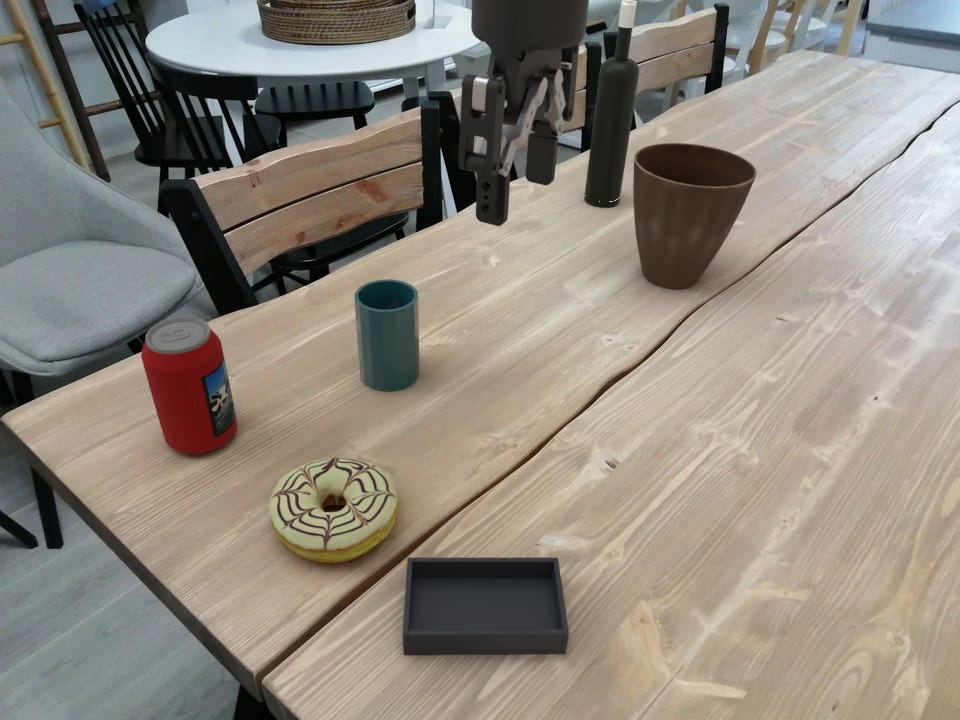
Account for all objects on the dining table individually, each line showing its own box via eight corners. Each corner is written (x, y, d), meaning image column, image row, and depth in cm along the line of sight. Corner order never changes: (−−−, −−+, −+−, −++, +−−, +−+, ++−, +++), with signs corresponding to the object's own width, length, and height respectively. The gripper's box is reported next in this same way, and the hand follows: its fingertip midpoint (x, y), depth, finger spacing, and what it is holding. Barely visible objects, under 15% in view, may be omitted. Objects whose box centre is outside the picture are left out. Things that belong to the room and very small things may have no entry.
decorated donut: (345, 461, 70) (342, 430, 67) (423, 522, 64) (423, 491, 62) (248, 520, 63) (242, 489, 61) (326, 594, 57) (322, 562, 55)
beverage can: (247, 445, 71) (226, 342, 64) (174, 469, 68) (144, 363, 61) (228, 406, 75) (207, 305, 68) (159, 426, 73) (130, 323, 66)
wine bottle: (587, 191, 124) (612, -5, 107) (621, 196, 123) (652, -2, 105) (580, 204, 120) (605, 1, 102) (616, 210, 118) (647, 5, 101)
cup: (391, 399, 77) (387, 318, 71) (348, 375, 80) (341, 296, 75) (431, 371, 82) (430, 293, 76) (388, 350, 85) (384, 273, 79)
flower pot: (693, 246, 109) (717, 139, 99) (748, 297, 97) (781, 181, 88) (599, 255, 105) (615, 145, 96) (644, 309, 94) (667, 190, 84)
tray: (403, 655, 53) (402, 634, 52) (408, 577, 59) (407, 557, 58) (565, 654, 54) (569, 633, 53) (555, 577, 59) (558, 557, 58)
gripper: (525, -58, 53) (512, 162, 62) (422, -35, 42) (425, 225, 52) (626, -48, 50) (596, 180, 59) (542, -21, 40) (522, 251, 49)
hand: (516, 201), depth 56 cm, fingers open, 8 cm apart
